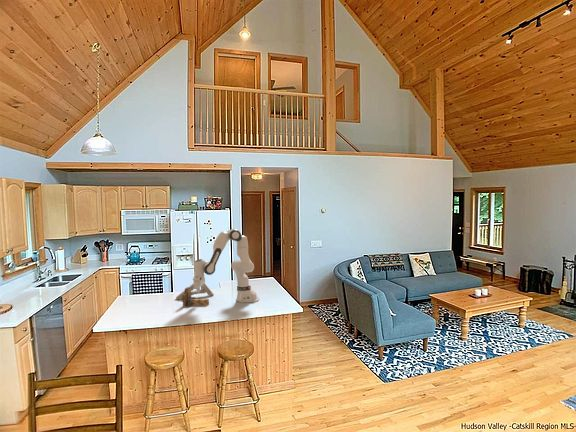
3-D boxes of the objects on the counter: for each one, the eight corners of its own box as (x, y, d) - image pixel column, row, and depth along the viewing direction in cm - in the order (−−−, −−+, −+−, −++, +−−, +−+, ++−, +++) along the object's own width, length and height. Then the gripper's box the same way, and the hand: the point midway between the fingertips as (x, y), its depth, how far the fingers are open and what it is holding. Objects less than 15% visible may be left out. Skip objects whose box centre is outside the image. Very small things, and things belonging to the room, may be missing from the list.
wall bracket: (189, 312, 340) (213, 293, 347) (189, 314, 335) (213, 294, 342) (175, 297, 334) (200, 277, 342) (175, 298, 330) (200, 278, 337)
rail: (208, 304, 315) (208, 297, 315) (207, 305, 312) (207, 298, 312) (191, 304, 317) (191, 297, 316) (190, 305, 313) (190, 298, 313)
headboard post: (196, 301, 323) (195, 285, 322) (190, 307, 307) (189, 290, 306) (189, 301, 323) (189, 285, 323) (183, 307, 307) (182, 290, 307)
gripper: (200, 273, 324) (200, 287, 325) (192, 279, 303) (193, 294, 304) (206, 273, 323) (207, 287, 324) (198, 279, 303) (199, 294, 304)
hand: (200, 290), depth 314 cm, fingers open, 8 cm apart
